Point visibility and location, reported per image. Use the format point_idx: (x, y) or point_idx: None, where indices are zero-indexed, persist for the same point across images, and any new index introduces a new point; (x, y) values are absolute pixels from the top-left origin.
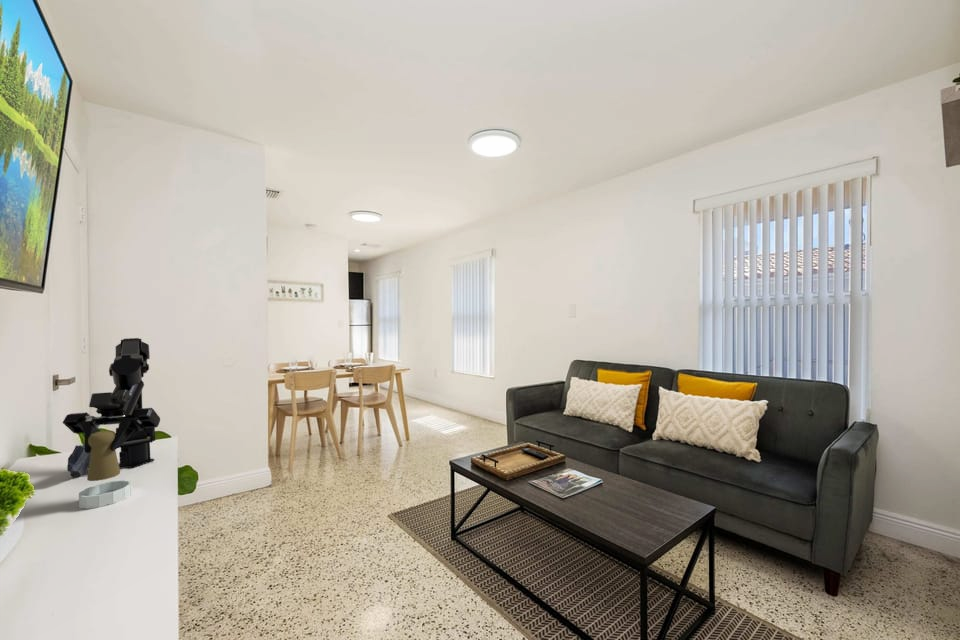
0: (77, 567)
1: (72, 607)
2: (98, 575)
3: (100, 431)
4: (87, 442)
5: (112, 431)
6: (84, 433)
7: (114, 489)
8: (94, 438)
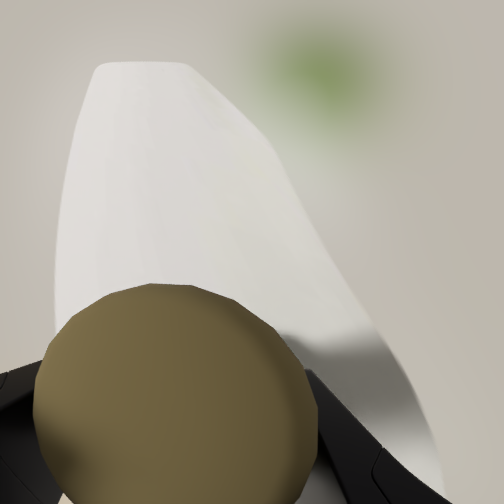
0: (163, 108)
1: (150, 72)
2: (138, 96)
3: (179, 476)
4: (324, 415)
5: (41, 434)
6: (427, 486)
7: None
8: (197, 289)
